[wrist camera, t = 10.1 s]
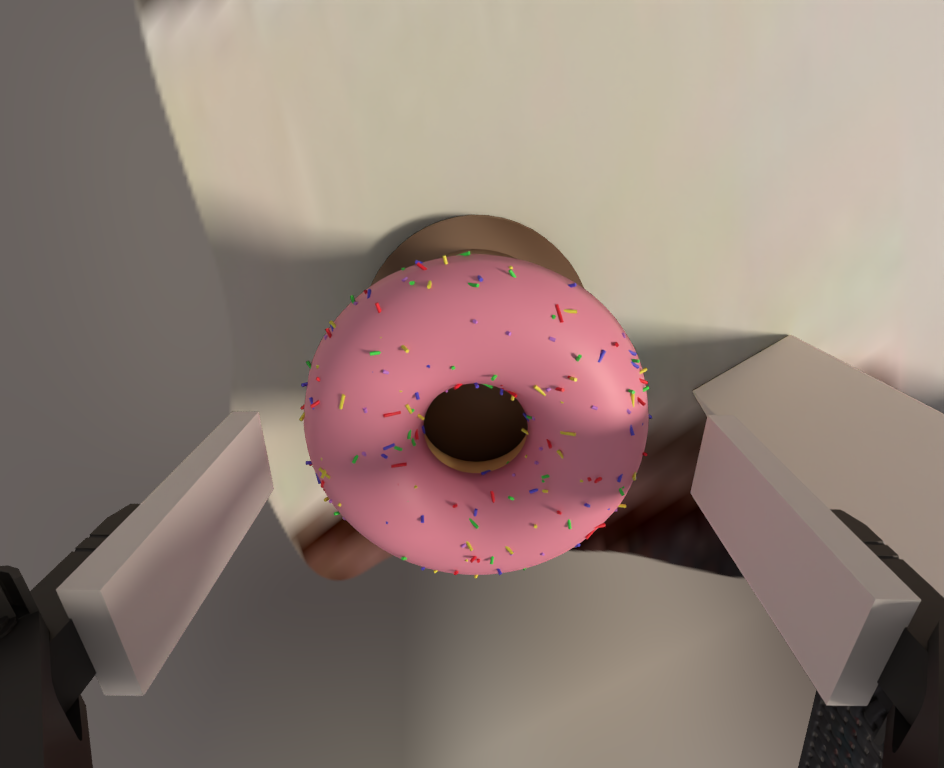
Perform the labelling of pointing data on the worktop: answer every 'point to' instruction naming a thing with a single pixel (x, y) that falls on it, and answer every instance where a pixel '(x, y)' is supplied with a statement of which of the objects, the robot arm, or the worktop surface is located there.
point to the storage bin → (845, 734)
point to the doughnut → (480, 362)
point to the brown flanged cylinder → (469, 408)
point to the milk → (846, 443)
